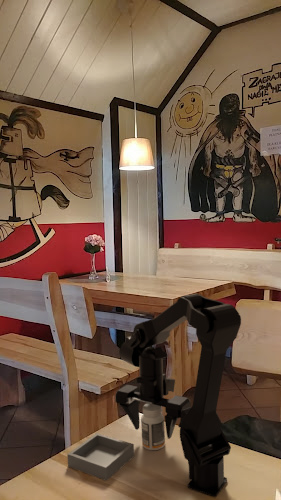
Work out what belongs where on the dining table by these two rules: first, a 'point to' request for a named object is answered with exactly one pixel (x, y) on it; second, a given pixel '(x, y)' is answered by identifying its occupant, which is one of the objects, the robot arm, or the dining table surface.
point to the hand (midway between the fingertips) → (153, 433)
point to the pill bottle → (152, 427)
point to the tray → (101, 456)
